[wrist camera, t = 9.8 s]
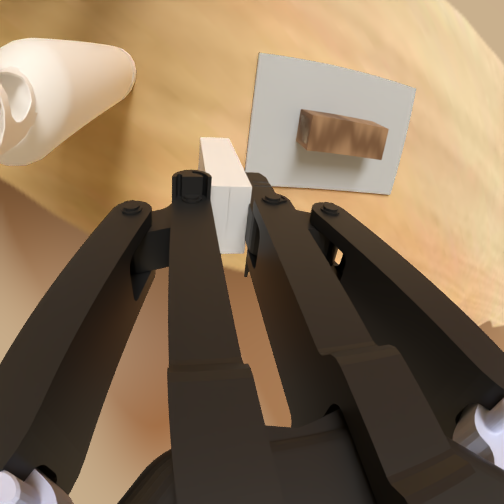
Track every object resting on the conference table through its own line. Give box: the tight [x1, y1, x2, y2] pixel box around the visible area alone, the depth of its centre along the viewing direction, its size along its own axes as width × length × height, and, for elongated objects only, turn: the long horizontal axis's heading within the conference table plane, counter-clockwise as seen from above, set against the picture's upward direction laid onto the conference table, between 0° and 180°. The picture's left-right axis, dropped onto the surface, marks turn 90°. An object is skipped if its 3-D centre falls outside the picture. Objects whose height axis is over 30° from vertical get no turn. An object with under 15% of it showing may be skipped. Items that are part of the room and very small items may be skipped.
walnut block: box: [296, 109, 389, 160], centre depth 39 cm, size 4×4×11 cm
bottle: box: [0, 38, 136, 166], centre depth 21 cm, size 8×8×28 cm
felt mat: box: [245, 53, 416, 195], centre depth 41 cm, size 18×24×1 cm
